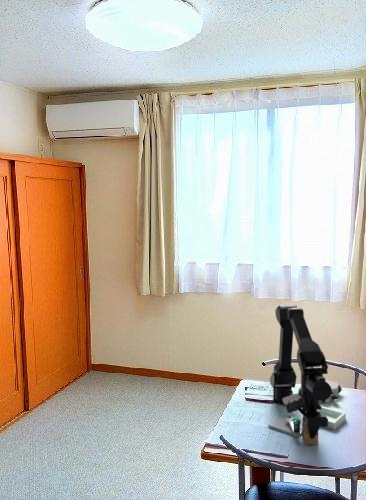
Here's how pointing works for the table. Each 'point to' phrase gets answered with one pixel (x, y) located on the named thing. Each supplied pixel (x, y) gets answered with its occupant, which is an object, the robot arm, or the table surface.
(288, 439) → the table surface
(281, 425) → the crank base
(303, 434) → the brown block
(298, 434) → the crank
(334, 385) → the robot toy
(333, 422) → the tray
